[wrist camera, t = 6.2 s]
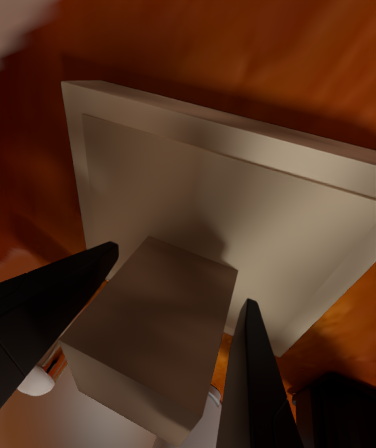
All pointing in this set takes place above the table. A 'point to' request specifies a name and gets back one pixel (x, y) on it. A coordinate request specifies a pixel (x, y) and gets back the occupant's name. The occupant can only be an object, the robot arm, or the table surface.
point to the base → (226, 198)
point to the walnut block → (153, 338)
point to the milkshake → (49, 365)
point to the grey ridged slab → (201, 426)
